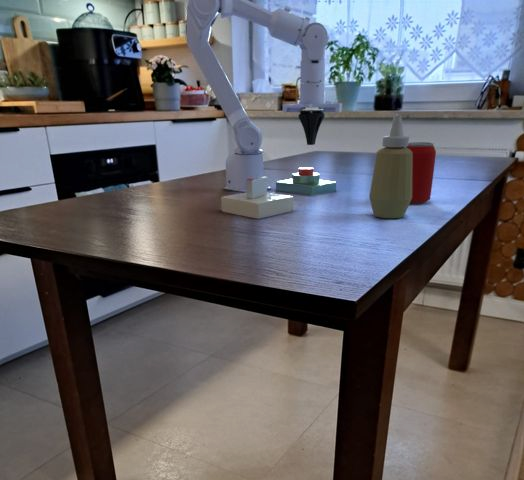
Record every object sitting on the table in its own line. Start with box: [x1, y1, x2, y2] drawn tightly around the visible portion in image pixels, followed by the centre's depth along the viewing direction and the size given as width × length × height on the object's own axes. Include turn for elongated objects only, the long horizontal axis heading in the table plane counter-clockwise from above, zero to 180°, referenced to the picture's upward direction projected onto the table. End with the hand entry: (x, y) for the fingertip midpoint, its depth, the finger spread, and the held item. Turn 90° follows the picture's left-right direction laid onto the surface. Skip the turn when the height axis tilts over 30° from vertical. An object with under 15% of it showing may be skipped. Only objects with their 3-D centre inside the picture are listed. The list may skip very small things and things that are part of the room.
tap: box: [245, 176, 268, 199], centre depth 105 cm, size 6×2×4 cm, turn 149°
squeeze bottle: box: [368, 114, 413, 219], centre depth 97 cm, size 8×8×18 cm
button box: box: [275, 172, 337, 197], centre depth 128 cm, size 12×9×4 cm
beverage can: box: [405, 141, 437, 205], centre depth 111 cm, size 7×7×12 cm
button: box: [298, 166, 314, 175], centre depth 127 cm, size 4×4×2 cm
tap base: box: [220, 191, 294, 220], centre depth 106 cm, size 11×10×3 cm
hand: (311, 144), depth 128 cm, fingers closed
